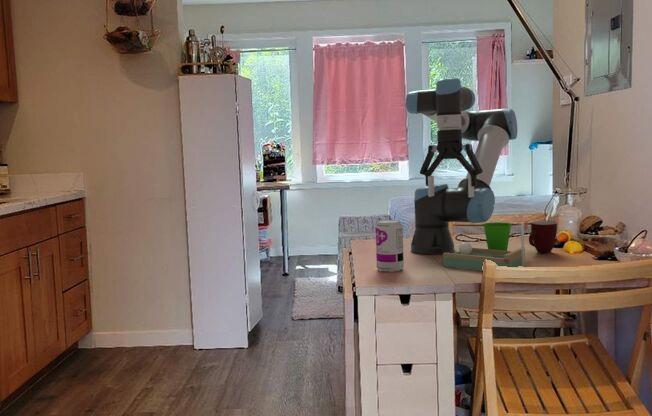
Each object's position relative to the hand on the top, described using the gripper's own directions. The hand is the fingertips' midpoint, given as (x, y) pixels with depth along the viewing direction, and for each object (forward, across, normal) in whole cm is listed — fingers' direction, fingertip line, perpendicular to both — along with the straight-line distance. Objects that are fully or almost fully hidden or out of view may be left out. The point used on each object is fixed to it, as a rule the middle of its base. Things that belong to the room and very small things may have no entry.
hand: (450, 196), depth 187 cm
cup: (+21, +11, +11) cm, 26 cm away
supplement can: (+21, -12, -19) cm, 31 cm away
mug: (+21, +21, +24) cm, 39 cm away
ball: (+18, +6, -2) cm, 19 cm away
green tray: (+21, +12, -3) cm, 24 cm away
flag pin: (+21, +24, -2) cm, 32 cm away
